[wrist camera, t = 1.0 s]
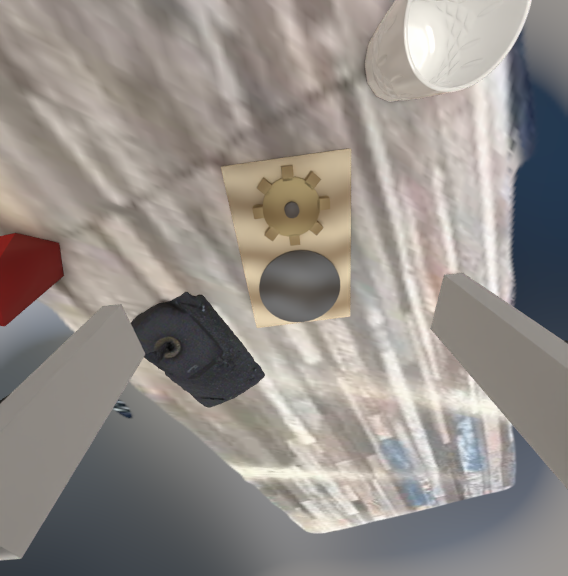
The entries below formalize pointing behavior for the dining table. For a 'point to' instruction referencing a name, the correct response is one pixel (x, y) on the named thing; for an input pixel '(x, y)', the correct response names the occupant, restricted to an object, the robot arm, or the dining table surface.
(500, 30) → the white cup
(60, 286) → the dining table surface
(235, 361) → the dark slate chunk
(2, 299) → the french fries
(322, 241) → the gear board
